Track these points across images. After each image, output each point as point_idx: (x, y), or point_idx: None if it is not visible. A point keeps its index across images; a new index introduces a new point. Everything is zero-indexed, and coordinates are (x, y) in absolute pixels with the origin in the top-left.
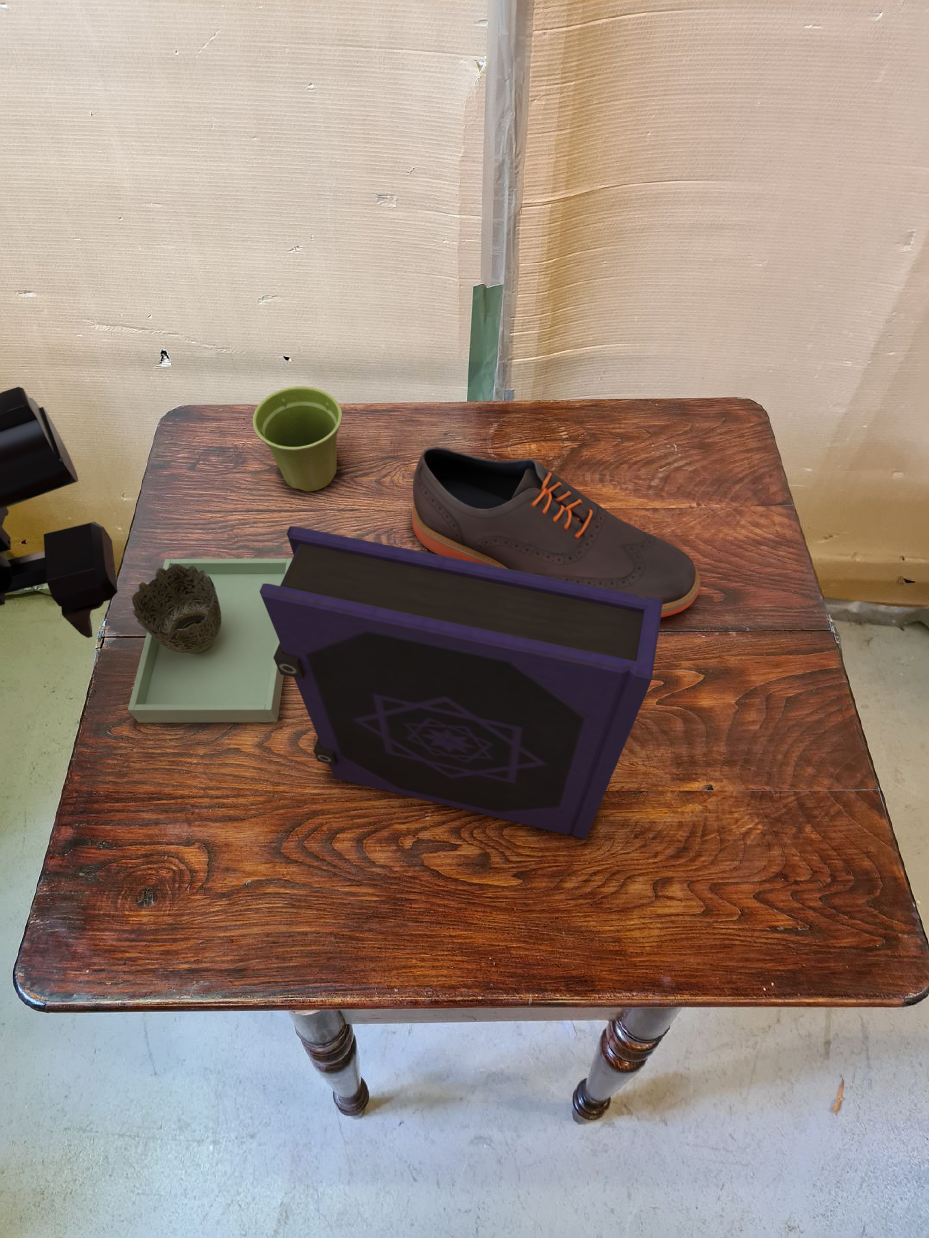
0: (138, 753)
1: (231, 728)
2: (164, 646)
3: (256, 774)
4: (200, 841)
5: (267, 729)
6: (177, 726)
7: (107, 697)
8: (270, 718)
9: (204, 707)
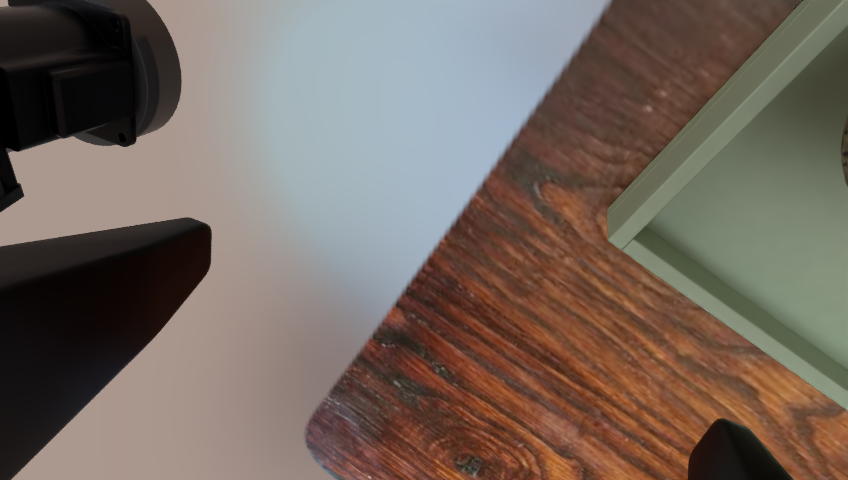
0: (569, 271)
1: None
2: (846, 182)
3: None
4: (581, 462)
5: None
6: None
7: (576, 96)
8: None
9: (778, 354)
